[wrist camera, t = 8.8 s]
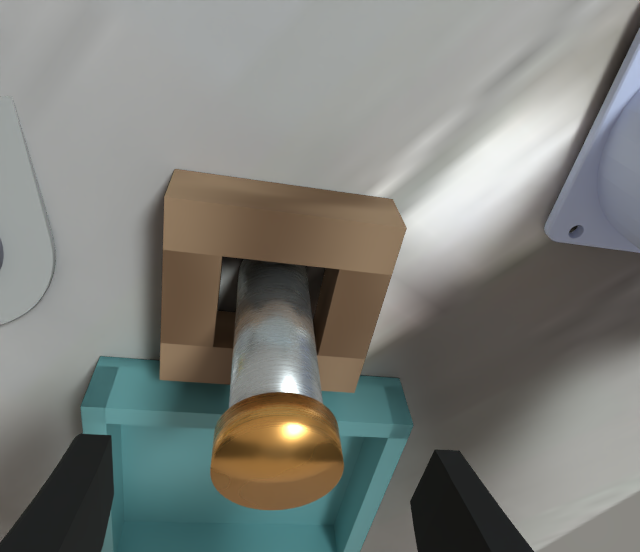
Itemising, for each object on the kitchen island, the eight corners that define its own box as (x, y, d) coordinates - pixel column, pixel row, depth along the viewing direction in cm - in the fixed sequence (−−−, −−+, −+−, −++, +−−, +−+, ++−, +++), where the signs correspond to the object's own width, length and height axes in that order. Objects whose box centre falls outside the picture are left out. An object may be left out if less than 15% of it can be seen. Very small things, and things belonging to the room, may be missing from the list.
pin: (322, 244, 18) (357, 431, 11) (306, 312, 19) (329, 511, 13) (234, 233, 17) (215, 423, 10) (226, 304, 19) (205, 509, 12)
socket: (392, 199, 17) (406, 228, 15) (346, 356, 21) (354, 393, 19) (174, 168, 16) (164, 196, 14) (168, 341, 19) (159, 379, 18)
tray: (399, 378, 22) (413, 425, 19) (344, 524, 27) (350, 572, 25) (100, 356, 19) (80, 406, 17) (109, 520, 25) (96, 572, 23)
